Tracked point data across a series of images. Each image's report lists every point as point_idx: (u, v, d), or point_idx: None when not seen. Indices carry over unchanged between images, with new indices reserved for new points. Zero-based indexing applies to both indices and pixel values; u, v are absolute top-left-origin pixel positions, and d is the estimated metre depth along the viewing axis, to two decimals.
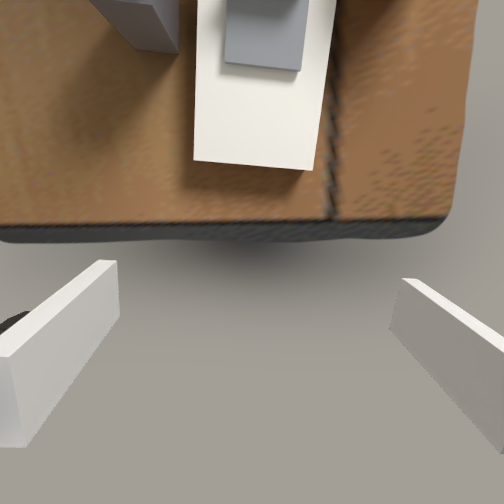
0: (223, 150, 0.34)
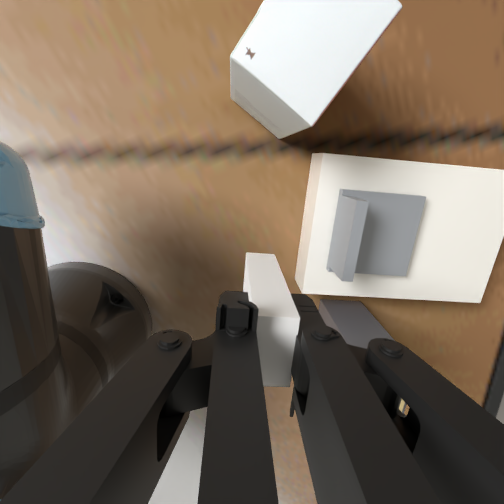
0: (478, 274, 0.32)
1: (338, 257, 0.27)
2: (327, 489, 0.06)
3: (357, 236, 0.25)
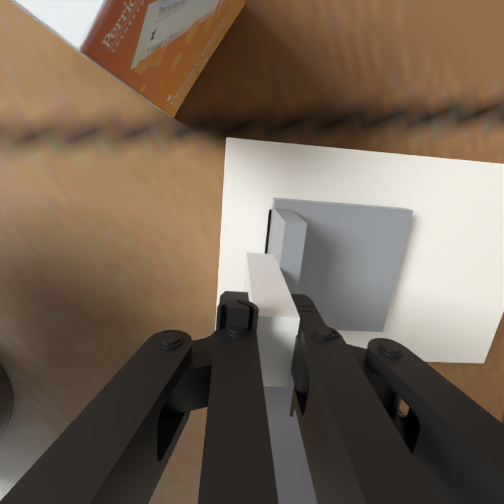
0: (481, 323, 0.21)
1: None
2: (327, 489, 0.06)
3: (290, 283, 0.14)
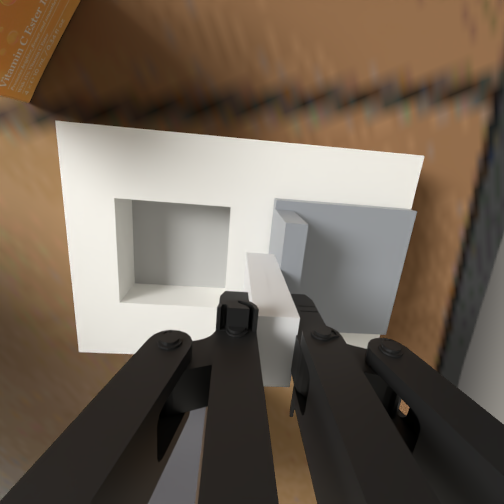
0: None
1: None
2: (327, 489, 0.06)
3: (291, 285, 0.14)
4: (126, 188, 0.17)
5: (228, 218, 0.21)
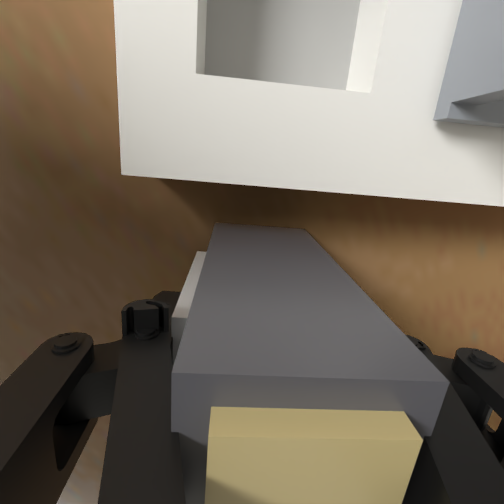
0: None
1: None
2: (406, 492, 0.06)
3: None
4: None
5: None
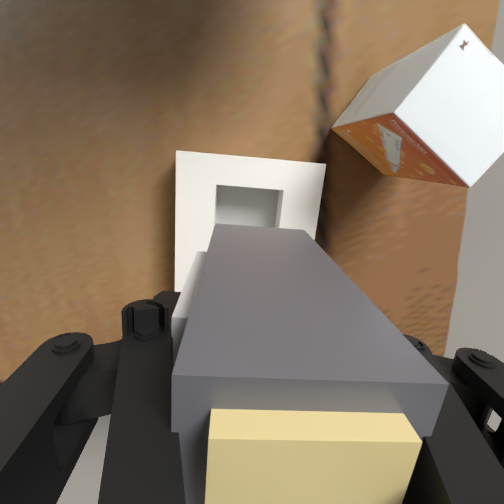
0: None
1: None
2: None
3: None
4: (288, 197, 0.29)
5: None
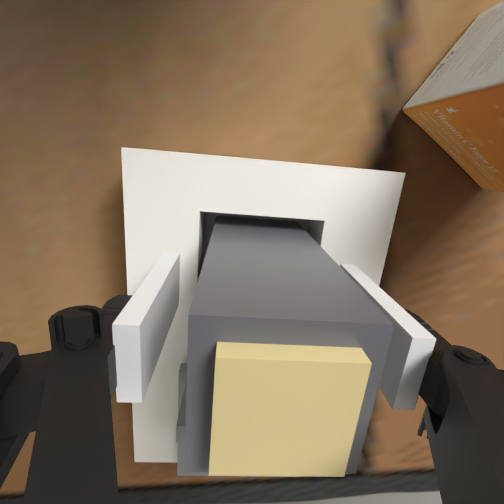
0: None
1: None
2: None
3: None
4: (333, 234, 0.16)
5: None
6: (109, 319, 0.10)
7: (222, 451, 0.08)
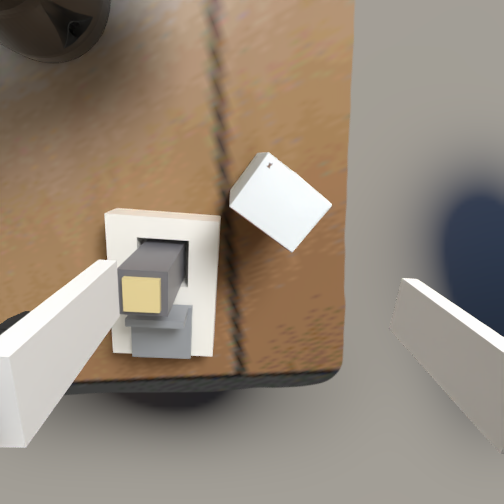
0: None
1: None
2: None
3: (159, 325, 0.37)
4: (193, 246, 0.39)
5: None
6: None
7: (126, 304, 0.30)
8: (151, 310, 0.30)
